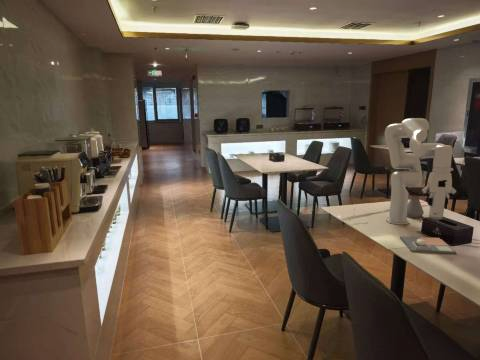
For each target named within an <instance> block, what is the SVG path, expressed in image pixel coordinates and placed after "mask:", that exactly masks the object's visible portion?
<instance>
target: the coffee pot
mask: <svg viewBox="0 0 480 360" xmlns="http://www.w3.org/2000/svg"><path fill="white" fill-rule="evenodd" d="M406 190H407V191H408V189H407V188H406ZM408 194H409V197H408V198H410V199H409V200H408V207H407V217H409V218H412V219H413V218H415V219H416V218H418V217H419V218H420V217H422V216H423V215H424V213H425V212H424V209H423V206H422V203H421V201H420V200H421V198H422V196H420V195H411V194H410V192H409V191H408Z"/></svg>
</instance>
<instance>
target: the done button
mask: <svg viewBox="0 0 480 360" xmlns="http://www.w3.org/2000/svg"><path fill="white" fill-rule="evenodd" d="M416 244H417V245H420V246H425V245H426V240H423V239H417V243H416Z"/></svg>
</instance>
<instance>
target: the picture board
mask: <svg viewBox="0 0 480 360" xmlns="http://www.w3.org/2000/svg"><path fill="white" fill-rule="evenodd" d="M440 238H441V237H427V236H426V237H425V236H399V239H400V240H401V242H403V244H404V245H405V246H406V247H407V248H408V249H409V251H410V252H412V253H427V254H428V253H429V254H446V255H447V254H449V255H450V254H452V255H453V254H454V255H456V254H457V251H456V250H455V249H454V248H452V246H450V245H449V244H448V243H447V242H445V241H444V240H443V239H442V238H441V239H440ZM417 239H423V240H426V245H425V246H420V245H417V244H416V243H417Z"/></svg>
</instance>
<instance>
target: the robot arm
mask: <svg viewBox="0 0 480 360" xmlns="http://www.w3.org/2000/svg"><path fill="white" fill-rule="evenodd" d="M429 128H430V123H429V121H428V120H427V119H426V118H421V117H419V118H418V117H417V118H414V117H411V118H405V119H404V120H402V121H401V123H392V124H389V125H388V126H386V128H385V130H384V138H385V139H384V140H385V142H386V145H387V147H388V153H389V158H390V160H389V161H390V164H391V165H390V166H392V169H395V170H396V171H394V172H392V173H391V175H390V184H391V185H390V186H391V187H390V188H391V191H390V192H391V194H390V207H389V216H388V217H386V222H387V223H390V224H392V225H400V226H401V225H402V226H403V225H405V226H406V225H408V224H410V220H409V219H407V218H408V216H407V207H408V203H409V198H410V197H409V194H410V193H409V194H408V192H409V191H408V189H407V188H408V187H419V186H420V185H422V183H423V181H424V180H423V172H422V165H421V160H420V159H433V161H432V169H431V170H432V171H431V172H429V175H428V177H427V183H426V186H424V187H423V188H422V189H421V191H422V193H423V194H424V195H426V197H427V200H426V204H427V205H428V206H429V207H430V206H432V200H433V199H432V196H433V194H434V193H436V190H437V187H438V181H443V180H447V182H445V184H446V185H445V186H446V197H445V205H444V207H447V206H448V205H449V199H450V198H451V197H452V196H454V194H456V193H457V190H456V189H455V188H454V187H453V179H452V178H453V176H452V173H451V172H452V171H454V168H453V167H452V157H453V151H454V150H453V146H452V145H447V144H444V143H439V142H433V143H432V142H429V143H428V142H427V143H426V142H425V143H423V142H424V141H425V140H426V139H427V137H428V131H429ZM402 138H403V139H405V138H406V139H410V140H409V149H410V151H411V153H408V152H406V151H405V146H404V143H403V142H402V141H401V140H400V139H402ZM406 189H407V190H406Z"/></svg>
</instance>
